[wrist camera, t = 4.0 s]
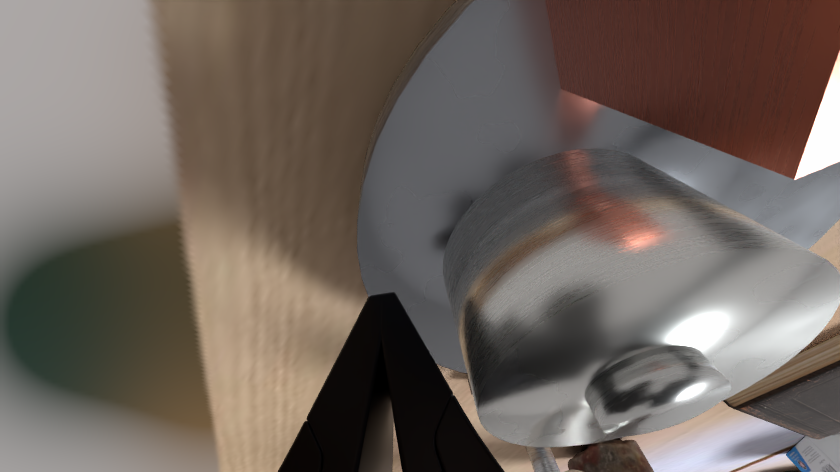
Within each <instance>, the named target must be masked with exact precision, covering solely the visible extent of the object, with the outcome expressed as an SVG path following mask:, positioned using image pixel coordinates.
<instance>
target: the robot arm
mask: <svg viewBox="0 0 840 472" xmlns="http://www.w3.org/2000/svg"><path fill="white" fill-rule="evenodd" d="M393 423H394V424H395V430H396V436H397V442H398V448H399V454H400V460H401V466H402V472H504V470H503V469H502V468H501V466H500V465H499V463H498V462H497V461H496V459H495V458H494V457H493V455H492V454H491V452H490V451H489V449H488V448H487V447H486V445H485V444H484V442H483V441H482V439H481V438H480V436H479V435H478V434H477V432H476V430H475V429H474V427H473V426H472V424H471V422H470V421H469V419H468V417H467V416H466V414H465V413H464V411H463V409H462V408H461V406H460V404H459V402H458V401H457V399H456V397H455V396H454V395H453V392H452V390H451V389H450V387H449V385H448V383H447V382H446V380H445V378H444V377H443V375H442V373H441V371H440V370H439V368H438V366H437V364H436V363H435V361H434V359H433V357H432V356H431V354H430V352H429V350H428V349H427V347H426V345H425V343H424V342H423V340H422V338H421V336H420V335H419V333H418V331H417V329H416V328H415V326H414V324H413V322H412V321H411V319H410V317H409V315H408V314H407V312H406V310H405V309H404V307H403V305H402V303H401V302H400V300H399V298H398V296H397V295H396V293H395V292H389V293H383V294H377V295H371V296H369V297H368V299H367V301H366V303H365V305H364V307H363V309H362V311H361V313H360V315H359V317H358V319H357V321H356V323H355V324H354V326H353V328H352V330H351V332H350V334H349V336H348V338H347V340H346V342H345V344H344V346H343V348H342V350H341V352H340V354H339V356H338V358H337V360H336V361H335V363H334V365H333V367H332V369H331V371H330V373H329V375H328V377H327V379H326V381H325V383H324V385H323V387H322V389H321V391H320V393H319V395H318V397H317V398H316V400H315V402H314V404H313V406H312V408H311V410H310V412H309V414H308V416H307V421H305V422H304V423H303V425H302V427H301V429H300V431H299V433H298V435H297V437H296V439H295V441H294V443H293V445H292V447H291V448H290V450H289V452H288V454H287V456H286V458H285V459H284V461H283V463H282V465H281V467H280V469H279V470H278V472H392V464H393Z"/></svg>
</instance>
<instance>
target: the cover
mask: <svg viewBox="0 0 840 472" xmlns="http://www.w3.org/2000/svg"><path fill="white" fill-rule="evenodd" d="M443 278H444V283H445V287H446V291H447V295H448V299H449V303H450V307H451V311H452V315H453V319H454V323H455V327H456V331H457V335H458V338H459V342H460V346H461V350H462V354H463V358H464V362H465V366H466V370H467V374H468V378H469V382H470V386H471V390H472V393H473V397H474V401H475V405H476V409H477V413H478V416H479V419H480V422H481V424H482V425H483V427H484V428H485V429H486V430H487V431H488V432H489V433H491V434H492V435H493V436H495V437H497V438H499V439H501V440H503V441H506V442H510V443H513V444H518V445H523V446H532V447H566V446H577V445H584V444H591V443H597V442H603V441H608V440H613V439H617V438H621V437H625V436H633V435H640V434H646V433H650V432H655V431H658V430H662V429H665V428H668V427H671V426H674V425H677V424H680V423H682V422H685V421H687V420H689V419H692V418H694V417H696V416H698V415H700V414H702V413H704V412H705V411H707V410H709V409H710V408H712V407H714V406H715V405H716V404H718V403H719V402H721V401H723V400H725V399H727V398H729V397H731V396H733V395H735V394H737V393H739V392H740V391H742V390H744V389H746V388H748V387H750V386H751V385H753V384H755V383H756V382H758V381H760V380H761V379H763V378H765V377H766V376H768V375H769V374H771V373H772V372H774V371H775V370H776V369H778V368H779V367H781V366H782V365H784V364H785V363H786V362H788V361H789V360H790V359H792V358H793V357H794V356H795V355H797V354H798V353H799V352H800V351H801V350H802V349H804V348H805V347H806V346H807V345H808V344H809V343H810V342H811V341H812V340H813V339H814V338H815V337H816V336H817V335H818V334H819V333H820V332H821V331H822V330H823V329H824V327H825V326H826V325H827V323H828V322H829V321H830V319H831V318H832V317H833V315H834V313H835V311H836V309H837V308H838V306H839V304H840V274H839V272H838V269H837V268H836V267H834V266H833V265H832V264H831V263H830V262H829V261H828V260H826V259H824V258H822V257H821V256H819V255H817V254H815V253H813V252H811V251H809V250H808V249H806V248H804V247H802V246H800V245H798V244H796V243H795V242H793V241H791V240H789V239H787V238H785V237H783V236H782V235H780V234H778V233H776V232H774V231H772V230H770V229H769V228H767V227H765V226H763V225H761V224H759V223H757V222H756V221H754V220H752V219H750V218H748V217H746V216H744V215H743V214H741V213H739V212H737V211H735V210H733V209H731V208H730V207H728V206H726V205H724V204H722V203H720V202H718V201H717V200H715V199H713V198H711V197H709V196H707V195H705V194H704V193H702V192H700V191H698V190H696V189H694V188H692V187H691V186H689V185H687V184H685V183H683V182H681V181H679V180H678V179H676V178H674V177H672V176H670V175H668V174H666V173H665V172H663V171H661V170H659V169H657V168H655V167H653V166H652V165H650V164H648V163H646V162H644V161H642V160H640V159H638V158H636V157H634V156H632V155H630V154H627V153H624V152H620V151H616V150H612V149H600V148H589V149H576V150H571V151H565V152H560V153H557V154H554V155H550V156H547V157H544V158H541V159H539V160H536V161H534V162H532V163H529V164H527V165H525V166H523V167H521V168H519V169H517V170H516V171H514V172H512V173H510V174H508V175H507V176H505V177H504V178H503V179H501V180H500V181H498V182H497V183H495V184H494V185H493V186H491V187H490V188H489V189H488V190H487V191H486V192H484V193H483V194H482V195H481V196H480V197H479V198H478V199H477V200H476V201H475V202H474V203H473V204H472V205H471V206H470V207H469V209H468V210H467V211H466V212H465V214H464V215H463V216H462V218H461V219H460V220H459V222H458V223H457V225H456V227H455V229H454V231H453V232H452V234H451V236H450V239H449V241H448V244H447V246H446V250H445V254H444V259H443Z"/></svg>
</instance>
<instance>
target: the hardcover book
mask: <svg viewBox="0 0 840 472" xmlns="http://www.w3.org/2000/svg"><path fill="white" fill-rule="evenodd" d="M723 401H724V402H725V403H726V404H727V405H728V406H729V407H731V408H733V409H736V410H739V411H741V412H744V413H746V414H749V415H752V416H754V417H757V418H760V419H762V420H765V421H768V422H770V423H773V424H776V425H778V426H781V427H784V428H786V429H789V430H792V431H794V432H797V433H800V434H802V435H805V436H808V437H810V438H813V439H822V438H825V437H828V436H830V435H833V434H836V433H839V432H840V334H839V335H837V336H835V337H833V338H831V339H828V340H826V341H824V342H822V343H820V344H818V345H816V346H814V347H812V348H810V349H808V350H805V351H803V352H801V353H799V354H797V355H795V356H794V357H793V358H792V359H790V360H789V361H788V362H786V363H785V364H784V365H782V366H781V367H779V368H778V369H776V370H775V371H774V372H772V373H771V374H769V375H768V376H766V377H765V378H763V379H761V380H760V381H758V382H756V383H755V384H753V385H751V386H750V387H748V388H746V389H744V390H742V391H740V392H739V393H737V394H735V395H733V396H731V397H729V398H727V399H725V400H723Z"/></svg>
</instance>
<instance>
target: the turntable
mask: <svg viewBox="0 0 840 472" xmlns="http://www.w3.org/2000/svg"><path fill="white" fill-rule="evenodd" d="M589 148H600V149H612V150H616V151H620V152H624V153H627V154H630V155H632V156H634V157H636V158H638V159H640V160H642V161H644V162H646V163H648V164H650V165H652V166H653V167H655V168H657V169H659V170H661V171H663V172H665V173H666V174H668V175H670V176H672V177H674V178H676V179H678V180H679V181H681V182H683V183H685V184H687V185H689V186H691V187H692V188H694V189H696V190H698V191H700V192H702V193H704V194H705V195H707V196H709V197H711V198H713V199H715V200H717V201H718V202H720V203H722V204H724V205H726V206H728V207H730V208H731V209H733V210H735V211H737V212H739V213H741V214H743V215H744V216H746V217H748V218H750V219H752V220H754V221H756V222H757V223H759V224H761V225H763V226H765V227H767V228H769V229H770V230H772V231H774V232H776V233H778V234H780V235H782V236H783V237H785V238H787V239H789V240H791V241H793V242H795V243H796V244H798V245H800V246H802V247H804V248H806V249H809V248H810V247H811V246H812V245H814V244H815V243H816V242H817V241H818V240H819V239H820V238H821V237H822V236H823V235H824V234H825V233H826V232H827V231H828V230H829V229H830V228H831V227H832V226H833V225H834V224H835V223H836V222H837V221H838V220H839V219H840V0H457V1H456V2H455V3H454V4H453V5H452V6H451V7H450V8H449V9H448V10H447V11H446V12H445V13H444V14H443V16H442V17H441V18H440V19H439V21H438V22H437V23H436V24H435V25H434V27H433V28H432V29H431V30H430V31H429V33H428V34H427V35H426V36H425V38H424V39H423V40H422V41H421V42H420V44H419V45H418V46H417V48H416V49H415V51H414V52H413V54H412V55H411V57H410V59H409V60H408V62H407V63H406V65H405V67H404V68H403V70H402V71H401V73H400V75H399V76H398V78H397V79H396V81H395V82H394V84H393V86H392V88H391V90H390V93H389V95H388V97H387V99H386V101H385V103H384V106H383V108H382V110H381V112H380V114H379V116H378V118H377V121H376V124H375V127H374V130H373V133H372V137H371V140H370V143H369V146H368V150H367V153H366V157H365V163H364V170H363V176H362V182H361V190H360V200H359V210H358V220H357V252H358V258H359V264H360V270H361V276H362V280H363V283H364V286H365V288H366V291H367V294H368V297H369V296H371V295H377V294H383V293H389V292H395V293H396V295H397V296H398V298H399V300H400V302H401V303H402V305H403V307H404V309H405V310H406V312H407V314H408V315H409V317H410V319H411V321H412V322H413V324H414V326H415V328H416V329H417V331H418V333H419V335H420V336H421V338H422V340H423V342H424V343H425V345H426V347H427V349H428V350H429V352H430V354H431V356H432V357H433V359H434V361H435V363H436V364H438V365H441V366H443V367H446V368H449V369H452V370H455V371H459V372H462V373H467V370H466V366H465V362H464V358H463V354H462V350H461V346H460V342H459V338H458V335H457V331H456V327H455V323H454V319H453V315H452V311H451V307H450V303H449V299H448V295H447V291H446V287H445V283H444V278H443V259H444V254H445V250H446V246H447V244H448V241H449V239H450V236H451V234H452V232H453V231H454V229H455V227H456V225H457V223H458V222H459V220H460V219H461V218H462V216H463V215H464V214H465V212H466V211H467V210H468V209H469V207H470V206H471V205H472V204H473V203H474V202H475V201H476V200H477V199H478V198H479V197H480V196H481V195H482V194H483V193H484V192H486V191H487V190H488V189H489V188H490V187H491V186H493V185H494V184H495V183H497V182H498V181H500V180H501V179H503V178H504V177H505V176H507V175H508V174H510V173H512V172H514V171H516V170H517V169H519V168H521V167H523V166H525V165H527V164H529V163H532V162H534V161H536V160H539V159H541V158H544V157H547V156H550V155H554V154H557V153H560V152H565V151H571V150H576V149H589Z"/></svg>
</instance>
